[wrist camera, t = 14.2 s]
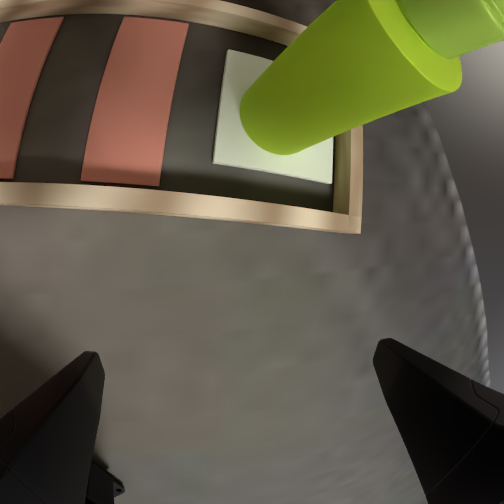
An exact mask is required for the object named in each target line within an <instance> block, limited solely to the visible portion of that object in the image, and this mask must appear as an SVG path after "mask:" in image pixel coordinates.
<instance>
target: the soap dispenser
mask: <svg viewBox="0 0 504 504" xmlns="http://www.w3.org/2000/svg"><path fill="white" fill-rule="evenodd" d="M503 40H504V0H337V1H335V2H334V3H333V4H332V5H331V6H330V7H329V8H328V9H326V10H325V11H324V12H323V13H322V14H321V15H320V16H319V17H318V18H317V19H316V20H314V21H313V22H312V23H311V24H310V25H309V26H308V27H307V28H306V29H305V30H304V31H303V32H302V33H301V34H300V35H299V36H298V37H297V38H296V39H295V40H294V41H293V42H292V43H291V44H290V45H289V46H288V47H287V48H286V49H285V50H284V51H283V52H282V53H281V54H280V55H279V56H278V57H277V58H276V59H275V60H274V61H273V62H272V63H271V65H270V66H269V67H268V68H267V69H266V70H265V71H264V72H263V73H262V74H261V75H260V76H259V78H258V79H257V80H256V81H255V82H254V83H253V84H252V85H251V86H250V88H249V89H248V90H247V91H246V92H245V94H244V95H243V97H242V100H241V103H240V119H241V123H242V126H243V128H244V130H245V132H246V133H247V135H248V136H249V137H250V139H251V140H252V141H253V142H254V143H255V144H256V145H258V146H259V147H260V148H262V149H264V150H265V151H268V152H270V153H273V154H277V155H291V154H295V153H298V152H300V151H302V150H304V149H306V148H309V147H311V146H313V145H315V144H318V143H320V142H322V141H325V140H327V139H329V138H332V137H334V136H336V135H339V134H341V133H343V132H346V131H348V130H351V129H353V128H356V127H358V126H361V125H363V124H365V123H368V122H371V121H373V120H376V119H378V118H381V117H383V116H386V115H389V114H391V113H394V112H396V111H399V110H402V109H405V108H407V107H410V106H413V105H416V104H418V103H421V102H424V101H427V100H430V99H433V98H435V97H439V96H441V95H445V94H448V93H451V92H454V91H456V90H457V89H458V88H459V87H460V85H461V82H462V68H461V62H460V59H459V56H460V55H463V54H466V53H468V52H471V51H474V50H476V49H479V48H482V47H485V46H488V45H491V44H494V43H497V42H500V41H503Z"/></svg>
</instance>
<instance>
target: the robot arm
mask: <svg viewBox="0 0 504 504" xmlns="http://www.w3.org/2000/svg"><path fill="white" fill-rule="evenodd" d="M373 365H374V368H375V371H376V374H377V377H378V380H379V383H380V386H381V389H382V392H383V395H384V398H385V400H386V403H387V405H388V407H389V409H390V412H391V414H392V416H393V418H394V421H395V423H396V425H397V427H398V430H399V432H400V434H401V437H402V439H403V441H404V444H405V446H406V448H407V451H408V453H409V456H410V458H411V460H412V463H413V465H414V468H415V470H416V473H417V475H418V478H419V480H420V483H421V485H422V488H423V490H424V493H425V495H426V499H427V501H428V504H504V394H502V393H500V392H497V391H495V390H493V389H490V388H488V387H486V386H484V385H482V384H480V383H478V382H476V381H474V380H472V379H471V380H470V378H468V377H466V376H464V375H462V374H460V373H458V372H456V371H454V370H452V369H450V368H448V367H446V366H444V365H443V364H441V363H439V362H437V361H435V360H433V359H431V358H429V357H427V356H425V355H423V354H421V353H419V352H417V351H415V350H413V349H411V348H409V347H408V346H406V345H404V344H402V343H400V342H398V341H396V340H394V339H392V338H386V339H381V340H380V341H379V342H378V345H377V348H376V351H375V354H374V357H373ZM104 380H105V373H104V369H103V366H102V363H101V360H100V357H99V355H98V353H97V352H91V351H85V352H83V353H82V354H81V355H79V356H78V357H77V358H76V359H74V360H73V361H72V362H70V363H69V364H68V365H67V366H65V367H64V368H63V369H62V370H60V371H59V372H58V373H57V374H55V375H54V376H53V377H52V378H50V379H49V380H48V381H46V382H45V383H44V384H43V385H41V386H40V387H39V388H38V389H37V390H35V391H34V392H33V393H32V394H30V395H29V396H28V397H27V398H25V399H24V400H23V401H22V402H20V403H19V404H18V405H17V406H15V407H14V410H13V409H12V410H10V411H9V412H8V413H7V414H6V415H4V416H3V417H2V418H1V419H0V504H114V497H116V496H118V495H120V494H122V493H124V492H125V488H124V486H123V485H122V484H120V483H119V482H118V481H116V480H115V479H113V478H112V477H111V476H110V475H108V474H107V473H106V472H104V471H103V470H102V469H100V468H99V467H98V466H97V465H95V464H94V463H93V462H92V461H91V459H92V454H93V449H94V444H95V439H96V434H97V429H98V425H99V420H100V413H101V403H102V395H103V387H104ZM117 488H119V489H117Z"/></svg>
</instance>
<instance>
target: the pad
mask: <svg viewBox="0 0 504 504" xmlns="http://www.w3.org/2000/svg"><path fill="white" fill-rule="evenodd" d="M272 62H273V61H272V60H269V59H265V58H262V57H258V56H254V55H250V54H247V53H243V52H238V51H234V50H230V49H228V51H227V53H226V60H225V66H224V73H223V80H222V87H221V95H220V102H219V110H218V118H217V126H216V134H215V143H214V152H213V161H212V163H213V164H220V165H227V166H233V167H240V168H246V169H252V170H258V171H264V172H270V173H275V174H281V175H286V176H291V177H297V178H302V179H307V180H312V181H316V182H321V183H326V184H332V166H333V137H332V138H329V139H327V140H325V141H322V142H320V143H318V144H315V145H313V146H311V147H309V148H306V149H304V150H302V151H300V152H298V153H295V154H291V155H277V154H273V153H270V152H268V151H265V150H264V149H262V148H260V147H259V146H258V145H256V144H255V143H254V142H253V141H252V140H251V139H250V137H249V136H248V135H247V133H246V132H245V130H244V128H243V126H242V123H241V119H240V103H241V100H242V97H243V95H244V94H245V92H246V91H247V90H248V89H249V88H250V86H251V85H252V84H253V83H254V82H255V81H256V80H257V79H258V78H259V76H260V75H261V74H262V73H263V72H264V71H265V70H266V69H267V68H268V67H269V66H270V65H271V63H272Z"/></svg>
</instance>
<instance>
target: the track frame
mask: <svg viewBox="0 0 504 504" xmlns="http://www.w3.org/2000/svg"><path fill="white" fill-rule="evenodd" d="M68 14H125V15H140V16H151V17H161V18H169V19H176V20H183V21H189V22H195V23H201V24H206V25H211V26H216V27H221V28H225V29H230V30H234V31H238V32H242V33H246V34H250V35H253V36H257V37H261V38H264V39H267V40H271V41H274V42H277V43H280V44H283V45H286V46H289V45H290V44H291V43H292V42H293V41H294V40H295V39H296V38H297V37H298V36H299V35H300V34H301V33H302V32H303V31H304V30H305V29H306V28H307V27H306V26H304V25H301V24H298V23H296V22H293V21H290V20H287V19H284V18H281V17H278V16H275V15H272V14H269V13H266V12H262V11H259V10H256V9H252V8H248V7H245V6H241V5H237V4H233V3H229V2H224V1H220V0H0V23H2V22H7V21H13V20H19V19H26V18H34V17H42V16H53V15H68ZM362 188H363V125H361V126H358V127H356V128H353V129H351V130H348V131H346V132H343V133H341V134H339V135H336V136H335V173H334V197H333V212H327V211H321V210H315V209H308V208H302V207H295V206H288V205H281V204H274V203H267V202H259V201H252V200H244V199H236V198H227V197H219V196H210V195H201V194H192V193H182V192H172V191H161V190H150V189H138V188H125V187H111V186H96V185H78V184H58V183H28V182H0V205H7V206H31V207H52V208H71V209H88V210H103V211H118V212H132V213H145V214H158V215H170V216H182V217H194V218H205V219H215V220H226V221H236V222H246V223H256V224H266V225H275V226H284V227H293V228H302V229H311V230H320V231H328V232H336V233H350V234H360V232H361V214H362Z"/></svg>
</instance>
